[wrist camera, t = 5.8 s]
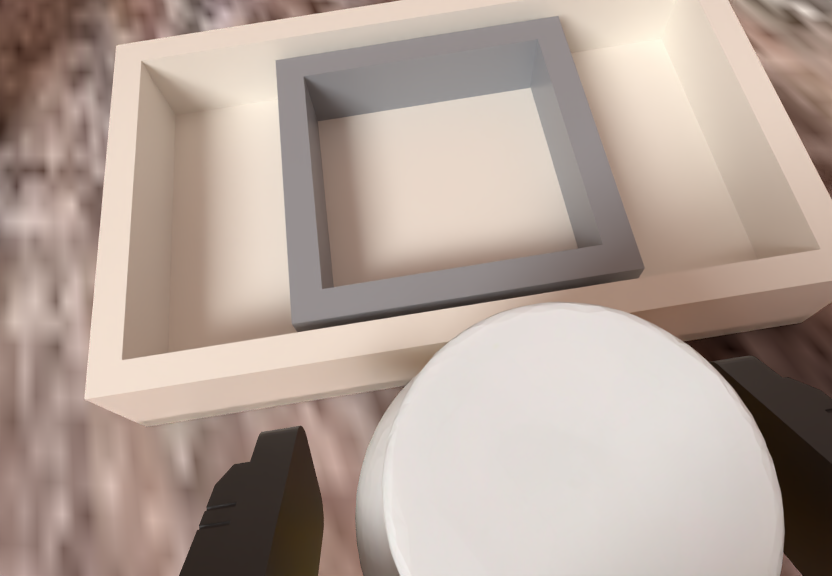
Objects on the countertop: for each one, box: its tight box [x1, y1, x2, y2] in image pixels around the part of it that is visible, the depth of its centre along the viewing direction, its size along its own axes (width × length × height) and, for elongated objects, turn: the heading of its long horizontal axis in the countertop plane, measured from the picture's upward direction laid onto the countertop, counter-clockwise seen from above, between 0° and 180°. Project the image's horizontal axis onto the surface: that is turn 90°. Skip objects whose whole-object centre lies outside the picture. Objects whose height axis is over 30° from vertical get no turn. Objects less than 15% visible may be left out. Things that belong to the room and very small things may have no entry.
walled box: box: [85, 0, 832, 427], centre depth 17 cm, size 18×11×3 cm, turn 99°
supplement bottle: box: [355, 302, 785, 576], centre depth 10 cm, size 5×5×10 cm
